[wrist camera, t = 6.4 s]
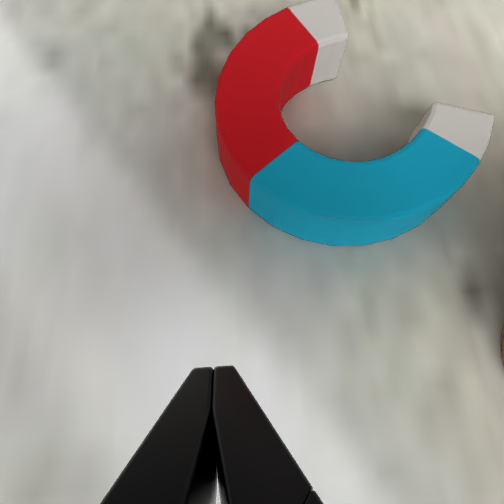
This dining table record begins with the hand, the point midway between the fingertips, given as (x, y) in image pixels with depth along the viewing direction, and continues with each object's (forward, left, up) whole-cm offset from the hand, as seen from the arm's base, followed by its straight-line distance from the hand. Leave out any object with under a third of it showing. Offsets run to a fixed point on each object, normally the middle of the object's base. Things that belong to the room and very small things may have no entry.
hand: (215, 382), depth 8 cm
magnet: (+5, -6, -6) cm, 10 cm away
